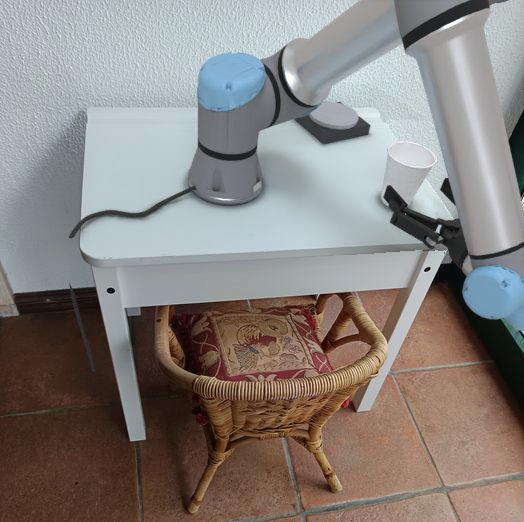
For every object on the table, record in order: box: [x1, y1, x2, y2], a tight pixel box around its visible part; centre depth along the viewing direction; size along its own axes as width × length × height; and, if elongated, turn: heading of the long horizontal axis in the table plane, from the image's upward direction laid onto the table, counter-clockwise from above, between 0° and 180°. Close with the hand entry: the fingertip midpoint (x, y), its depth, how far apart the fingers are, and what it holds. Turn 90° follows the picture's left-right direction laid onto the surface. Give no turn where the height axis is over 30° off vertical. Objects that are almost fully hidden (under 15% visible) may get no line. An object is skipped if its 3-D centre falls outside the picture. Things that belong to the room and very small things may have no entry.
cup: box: [380, 140, 438, 208], centre depth 100 cm, size 10×10×11 cm
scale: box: [294, 100, 371, 145], centre depth 122 cm, size 14×13×3 cm
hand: (415, 187), depth 97 cm, fingers open, 13 cm apart
